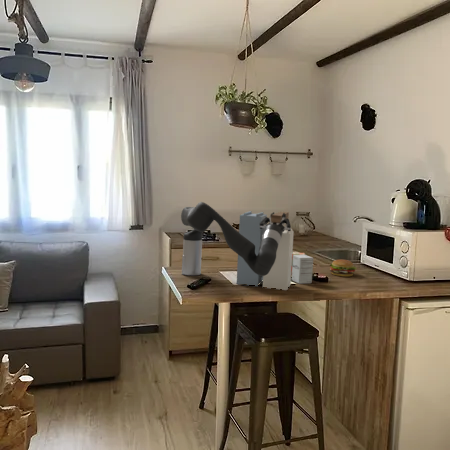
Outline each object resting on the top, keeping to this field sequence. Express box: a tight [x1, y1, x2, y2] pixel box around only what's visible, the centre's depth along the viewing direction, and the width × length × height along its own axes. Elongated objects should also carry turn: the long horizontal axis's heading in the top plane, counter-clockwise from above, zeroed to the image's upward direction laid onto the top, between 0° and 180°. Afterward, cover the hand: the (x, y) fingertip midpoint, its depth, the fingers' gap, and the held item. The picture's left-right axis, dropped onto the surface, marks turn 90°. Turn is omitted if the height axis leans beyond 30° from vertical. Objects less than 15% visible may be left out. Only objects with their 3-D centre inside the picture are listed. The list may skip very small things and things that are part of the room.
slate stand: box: [236, 210, 268, 287], centre depth 224 cm, size 13×10×33 cm
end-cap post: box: [262, 228, 295, 291], centre depth 219 cm, size 11×11×26 cm
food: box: [329, 258, 358, 278], centre depth 253 cm, size 14×14×8 cm
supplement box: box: [291, 254, 314, 285], centre depth 231 cm, size 7×7×13 cm
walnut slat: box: [270, 211, 290, 223], centre depth 215 cm, size 24×4×3 cm, turn 164°
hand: (278, 214), depth 210 cm, fingers closed on walnut slat, 4 cm apart
